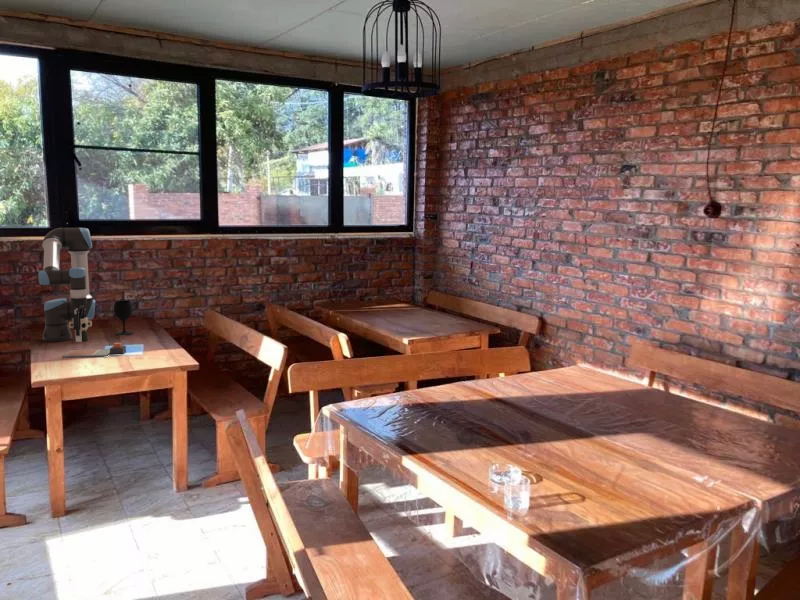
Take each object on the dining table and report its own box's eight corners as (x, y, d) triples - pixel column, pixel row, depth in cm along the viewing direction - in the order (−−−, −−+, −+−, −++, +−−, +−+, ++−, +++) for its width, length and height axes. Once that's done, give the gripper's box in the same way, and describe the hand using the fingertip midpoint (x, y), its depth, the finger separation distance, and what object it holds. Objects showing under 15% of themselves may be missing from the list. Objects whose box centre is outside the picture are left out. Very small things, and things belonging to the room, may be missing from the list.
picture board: (71, 351, 345) (71, 349, 345) (114, 350, 348) (114, 348, 348) (61, 357, 330) (61, 356, 330) (107, 356, 334) (107, 355, 334)
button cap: (115, 348, 343) (115, 342, 342) (122, 348, 343) (121, 342, 343) (113, 349, 339) (113, 344, 339) (120, 349, 340) (120, 344, 339)
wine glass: (124, 336, 384) (123, 303, 381) (111, 334, 388) (109, 302, 385) (137, 333, 394) (135, 301, 391) (124, 331, 397) (122, 299, 394)
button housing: (113, 352, 344) (113, 345, 344) (126, 351, 345) (125, 345, 345) (110, 354, 338) (109, 348, 337) (122, 354, 339) (122, 348, 338)
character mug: (69, 344, 332) (68, 319, 330) (70, 341, 338) (68, 317, 336) (93, 342, 337) (91, 318, 335) (92, 339, 343) (91, 316, 341)
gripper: (77, 294, 343) (79, 336, 347) (64, 300, 324) (67, 344, 327) (92, 294, 344) (94, 336, 348) (80, 299, 325) (82, 344, 328)
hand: (81, 340), depth 337 cm, fingers closed on character mug, 7 cm apart
